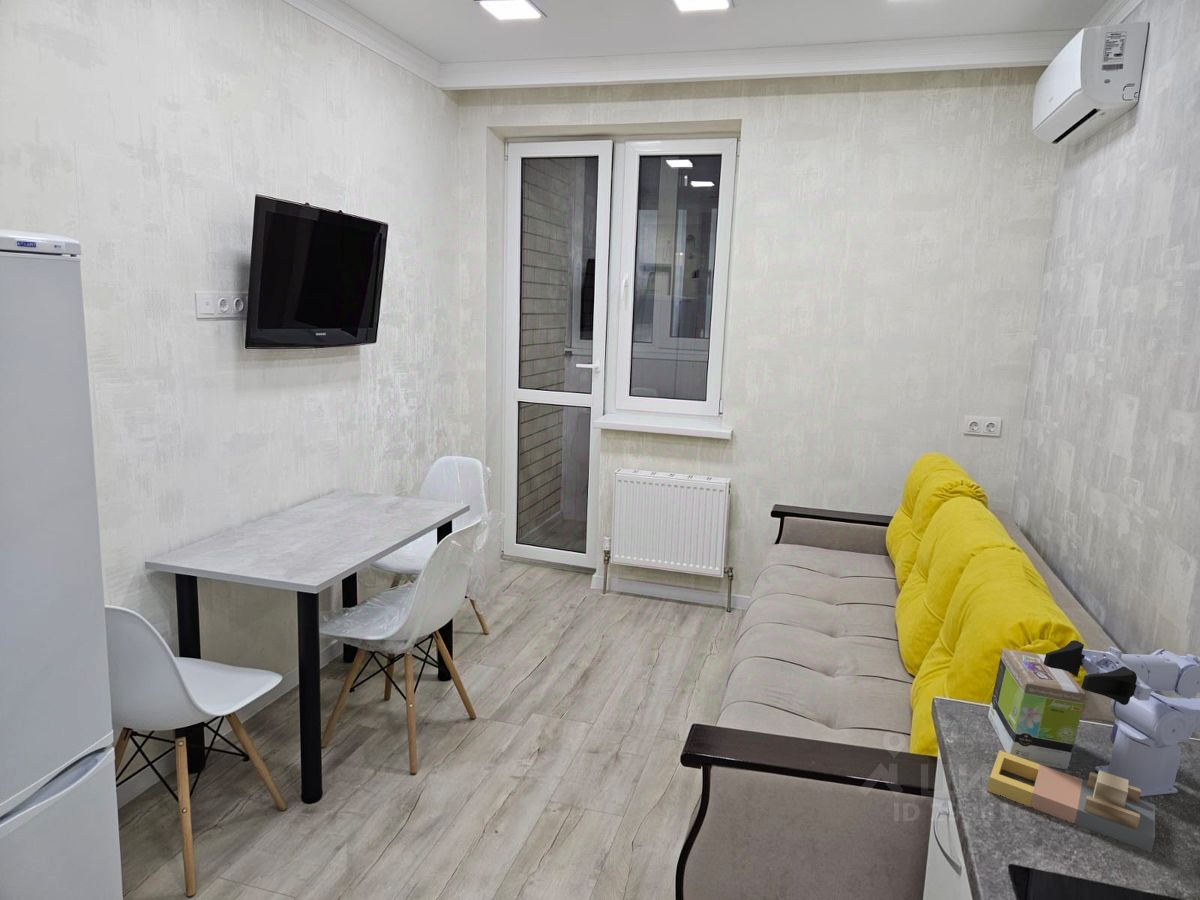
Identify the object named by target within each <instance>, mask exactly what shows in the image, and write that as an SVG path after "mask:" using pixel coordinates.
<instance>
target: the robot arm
mask: <svg viewBox="0 0 1200 900" xmlns="http://www.w3.org/2000/svg"><path fill="white" fill-rule="evenodd" d="M1084 646H1085V644H1084V643H1082V642H1081V641H1079V640H1070V641H1069V642H1068V643H1067V644H1065V646H1063V647H1061V648H1058V649H1056V650H1053V651H1048V652H1047V653H1045V655H1046V656H1045V660H1044V665H1046V666H1048V667H1050V668H1055V669H1061V670H1065V671H1068V672H1069V673H1070V674H1071V675H1073V676H1074V677H1078V676H1079V672H1080V669H1081V668H1082V669H1083V670H1084V672H1086V675H1084V677H1083V679H1082V684H1081V686H1080V687H1081V688H1082V689H1083V691H1087V692H1091V693H1093V694H1098V695H1101V696H1104V697H1107V698H1109V699H1110V700H1111V701H1110V711H1111V714H1112V715H1113V717H1115V718H1116V719H1115V718H1114V721H1115V724H1117V725H1118V730H1117V734H1116V738H1115V742H1114V744H1113V748H1112V750H1111V751H1112V752H1111V754H1110V760H1109V763H1108V765H1099V766H1095V767H1094V770H1095V771H1097V772H1099V770H1100V771H1103V772H1106V773H1109V774H1112V775H1115V776H1118V777H1121V778H1124V779H1127V780H1129V781H1128V785H1131V786H1133V787H1136V788H1139V789H1141V794H1140V797H1146V796H1147V797H1149V796H1151V797H1152V796H1157V795H1167V794H1169V795H1170V794H1177V793H1178V788H1176V787H1174V786H1175V782H1176V777H1177V773H1178V770H1179V766H1180V762H1181V758H1182V752H1181V747H1180V745H1179V744H1180V743H1181V742H1182V743H1183V742H1188V741H1189V740H1190V738H1192V735H1193V733H1195V732H1196V733H1197V732H1198V733H1200V698H1199V697H1196V696H1197V695H1198V694H1200V656H1196V655H1194V654H1191V653H1189V654H1188V653H1187V654H1186V655H1178V654H1176V653H1173V652H1172V651H1169V650H1166V649H1165V648H1158V649H1157V650H1155V651H1154V652H1152V653H1151V654H1135V653H1133V654H1131V653H1123V651H1121V650H1120V649H1118V648H1117V647H1115V646H1109V647H1108V649H1107V651H1100V650H1094V649H1086V648H1084ZM1158 691H1159V692H1172V693H1174V694H1176V695H1178V696H1181V697H1168V696H1164V695H1162V694H1159V693H1156V692H1158ZM1194 697H1195V698H1194Z"/></svg>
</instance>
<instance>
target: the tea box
mask: <svg viewBox="0 0 1200 900" xmlns="http://www.w3.org/2000/svg"><path fill="white" fill-rule="evenodd" d="M1045 656H1046V654H1040V653H1035V652H1028V651H1022V650H1015V649H1009V648H1002V650H1001V654H1000V658H999V662H998V667H997V668H998V669H997V673H996V677H995V683H994V688H993V691H992V697H991V702H990V704H989V705H990V706H989V711H988V716H987V717H988V719H989V721H990V723H991V726H992V727H993V729H994V732H995V733H996V735H997V737H998V739H999V741H1000V743H1001V745H1002V747H1003V748H1004V752H1006V753H1009V754H1012V755H1015V756H1018V757H1020V758H1023V759H1026V760H1029V761H1032V762H1035V763H1038V764H1040V765H1043V766H1046V767H1049V768H1053V769H1059V770H1060V769H1061V770H1068V769H1069V767H1070V766H1069V765H1070V762H1071V758H1072V754H1073V749H1074V745H1075V742H1076V737H1077V732H1078V728H1079V725H1080V720H1081V716H1082V711H1083V709H1084V705H1085V704H1084V703H1085V701H1086V693H1085V690H1084V689H1083V688H1081V687H1082V686H1081V685H1080V684H1079V683H1078V682H1077V680H1076V679H1075V678H1074V677H1073V676H1072V674H1071V673H1069V672H1068V671H1065V670H1061V669H1055V668H1050V667H1048V666H1046V665H1044V660H1045Z"/></svg>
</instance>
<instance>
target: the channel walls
mask: <svg viewBox="0 0 1200 900" xmlns="http://www.w3.org/2000/svg"><path fill="white" fill-rule="evenodd" d="M1097 776H1098V773H1096V772H1092V771H1089V776H1088V778H1087V781H1088V783H1087V786H1090V787H1093V788H1095V785H1096V781H1097ZM1140 794H1141V789H1139V788H1136V787H1133V786H1131V785H1128V794H1127V798H1126V799H1127V800H1130V801H1133V802H1136V803H1138V802H1139V799H1140ZM1084 810H1085V811H1088V812H1091V813H1093V814H1096V815H1099V816H1101V817H1104V818H1107V819H1110V820H1112V821H1115V822H1118V823H1121V824H1123V825H1126V826H1129V827H1131V828H1134V829H1137V828H1138V824H1139V820H1140V814H1138V813H1135V812H1132V811H1129V810H1126V809H1124V808H1121V807H1118V806H1115V805H1112V804H1110V803H1107V802H1104V801H1101V800H1098V799H1096V798H1093V797H1090V796H1086V800H1085V805H1084Z"/></svg>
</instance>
